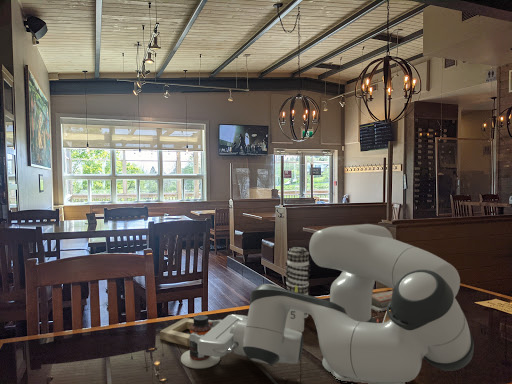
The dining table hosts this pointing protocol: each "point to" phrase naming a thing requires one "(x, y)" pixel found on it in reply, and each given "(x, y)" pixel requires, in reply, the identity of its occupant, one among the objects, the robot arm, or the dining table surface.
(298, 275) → the decorative candle
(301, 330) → the candle
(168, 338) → the square frame
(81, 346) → the dining table surface
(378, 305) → the packaged product
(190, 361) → the coaster
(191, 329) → the supplement bottle
